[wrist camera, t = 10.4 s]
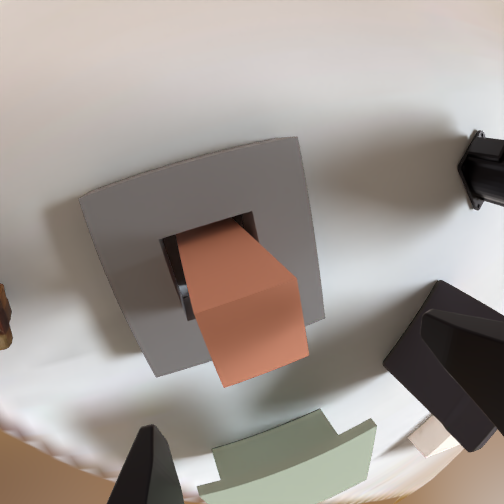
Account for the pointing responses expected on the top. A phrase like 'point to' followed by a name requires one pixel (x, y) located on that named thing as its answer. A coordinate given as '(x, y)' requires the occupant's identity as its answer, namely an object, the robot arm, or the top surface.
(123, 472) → the robot arm
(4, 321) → the wooden carving
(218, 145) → the top surface
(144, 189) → the socket block
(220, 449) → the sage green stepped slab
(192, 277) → the peg
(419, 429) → the white slab
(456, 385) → the black flat block
